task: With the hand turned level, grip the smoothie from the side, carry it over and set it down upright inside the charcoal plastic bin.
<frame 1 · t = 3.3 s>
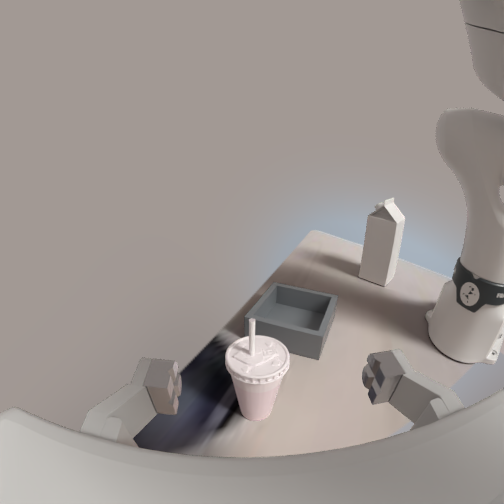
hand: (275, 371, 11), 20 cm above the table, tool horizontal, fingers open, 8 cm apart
smoothie: (256, 409, 29), on the table
milk carton: (376, 278, 61), on the table
bin: (292, 328, 45), on the table
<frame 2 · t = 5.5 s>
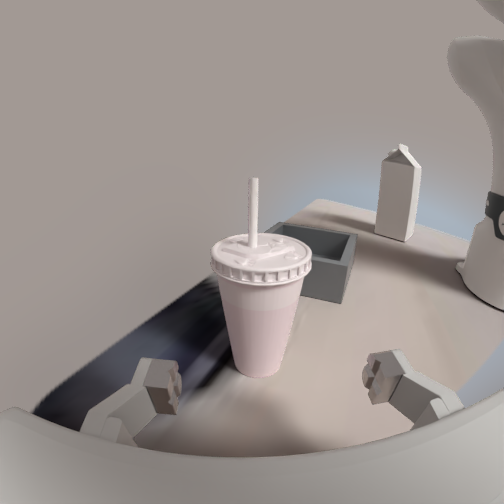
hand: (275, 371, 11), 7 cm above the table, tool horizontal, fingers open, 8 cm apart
smoothie: (257, 363, 21), on the table
milk carton: (393, 235, 53), on the table
bin: (304, 271, 36), on the table
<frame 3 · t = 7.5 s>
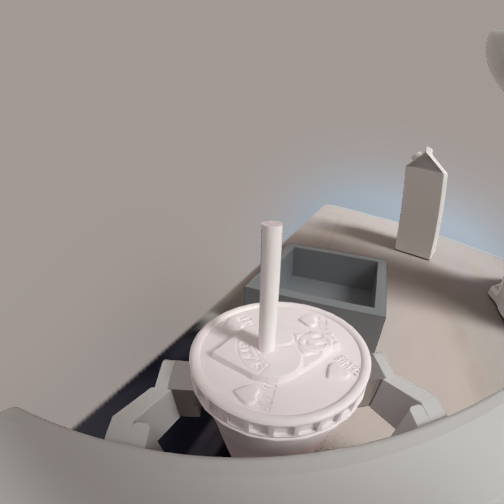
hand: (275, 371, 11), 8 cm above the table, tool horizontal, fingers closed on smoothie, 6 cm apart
smoothie: (267, 462, 13), on the table, touching gripper
milk carton: (415, 251, 44), on the table
bin: (321, 310, 28), on the table
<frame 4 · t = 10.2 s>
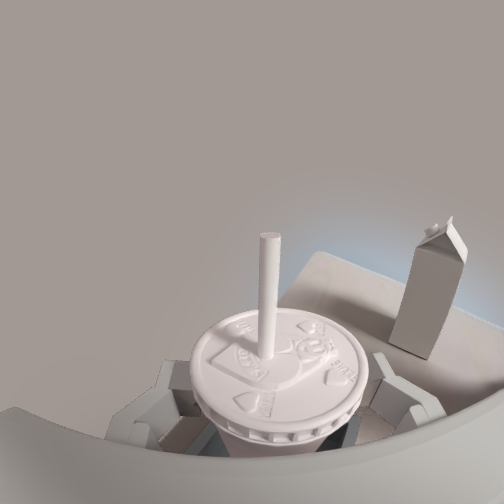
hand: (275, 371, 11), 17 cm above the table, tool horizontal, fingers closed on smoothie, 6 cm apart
smoothie: (267, 464, 13), point 9 cm above the table, touching gripper
milk carton: (413, 341, 35), on the table
bin: (269, 471, 19), on the table
when the fingers open (10 cm above the table, at t = 12.7 s): smoothie drops 1 cm, resting on bin.
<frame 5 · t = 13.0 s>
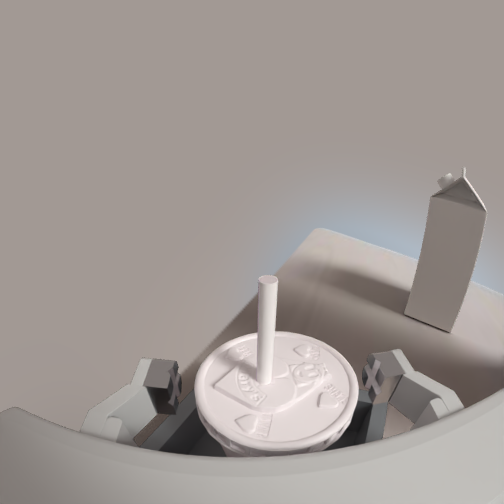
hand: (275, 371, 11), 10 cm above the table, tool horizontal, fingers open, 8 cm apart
smoothie: (266, 471, 13), point 1 cm above the table, touching bin
milk carton: (431, 313, 30), on the table
bin: (265, 473, 13), on the table
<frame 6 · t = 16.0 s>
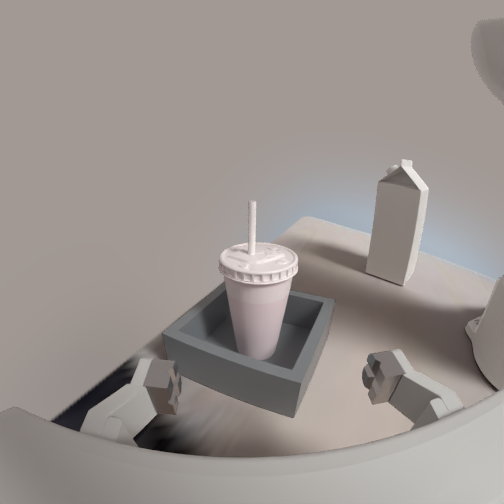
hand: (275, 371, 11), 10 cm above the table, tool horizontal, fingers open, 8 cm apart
smoothie: (256, 349, 26), point 1 cm above the table, touching bin
milk carton: (390, 274, 42), on the table
bin: (256, 353, 26), on the table
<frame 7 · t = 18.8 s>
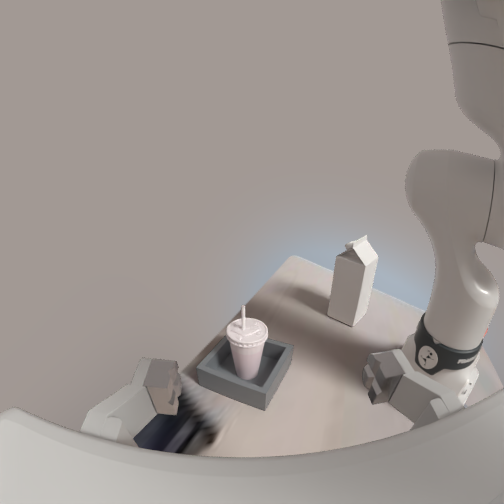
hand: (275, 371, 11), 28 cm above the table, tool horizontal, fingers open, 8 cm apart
smoothie: (247, 372, 44), point 1 cm above the table, touching bin
milk carton: (346, 315, 61), on the table
bin: (247, 374, 44), on the table
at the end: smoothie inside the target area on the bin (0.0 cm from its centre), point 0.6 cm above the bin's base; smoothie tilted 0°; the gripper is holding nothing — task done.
